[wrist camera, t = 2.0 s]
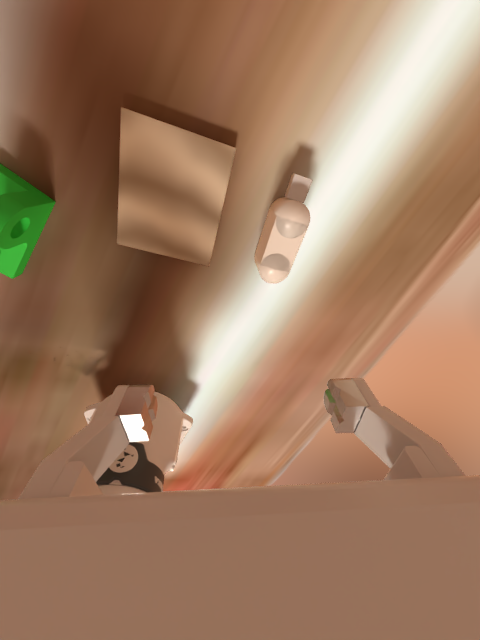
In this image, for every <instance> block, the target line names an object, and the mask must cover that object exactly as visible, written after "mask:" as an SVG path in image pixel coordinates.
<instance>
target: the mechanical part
mask: <svg viewBox="0 0 480 640" xmlns="http://www.w3.org/2000/svg"><path fill="white" fill-rule="evenodd" d="M54 204H55V201H54V200H52V199H51V198H50V197H48V196H47V195H45V194H44V193H42V192H41V191H39V190H38V189H37V188H35V187H34V186H32V185H31V184H29V183H28V182H26V181H25V180H23V179H22V178H21V177H19V176H18V175H16V174H15V173H13V172H12V171H10V170H9V169H8V168H6V167H5V166H3V165H2V164H0V272H1V273H2V274H4V275H6V276H8V277H10V278H12V279H13V278H15V277H17V276H19V275H21V274H22V273H23V271H24V268H25V266H26V264H27V262H28V260H29V258H30V256H31V253H32V251H33V249H34V247H35V245H36V243H37V241H38V239H39V236H40V234H41V232H42V230H43V228H44V226H45V224H46V221H47V219H48V217H49V215H50V213H51V211H52V209H53V206H54Z"/></svg>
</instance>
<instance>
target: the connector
mask: <svg viewBox="0 0 480 640" xmlns="http://www.w3.org/2000/svg"><path fill="white" fill-rule="evenodd" d="M311 183H312V180H311V179H309V178H306V177H303V176H300V175H297V174H293V173H292V176H291V179H290V181H289V184H288V187H287V190H286V193H285V196H284V197H281V198H278V199H277V200H275V201H274V202H273V203H272V205H271V206H270V208H269V211H268V214H267V218H266V221H265V224H264V227H263V230H262V233H261V236H260V240H259V243H258V246H257V249H256V252H255V256H254V259H255V263H256V265H257V268H258V271H259V273H260V275H261V277H262V279H263V280H264V281H266V282H268V283H273V284H274V283H279V282H281V281H283V280H284V279H285V278H286V277H287V276H288V274H289V272H290V270H291V267H292V265H293V262H294V260H295V257H296V255H297V253H298V250H299V248H300V245H301V243H302V240H303V238H304V235H305V233H306V231H307V228H308V226H309V222H310V213H309V210H308V208H307V207H306V206H305V205H304V204H302V203H304V201H305V198H306V196H307V193H308V191H309V188H310V185H311ZM295 200H296V201H295ZM298 201H299V202H298ZM300 202H302V203H300Z"/></svg>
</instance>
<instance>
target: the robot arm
mask: <svg viewBox="0 0 480 640" xmlns="http://www.w3.org/2000/svg"><path fill="white" fill-rule="evenodd" d="M327 386H328V388H329V389H327V390H326V391H325V394H324V404H325V408H326V410H327V412H328V413H330V414H331V415H332V417H331V422H332V425H333V427H334V429H335V432H336V433H354V434H355V435H356V436H357V437H358V438H359V439H360V440H361V441H362V442H363V443H364V444H365V445H366V446H368V447H369V448H370V449H371V450H372V451H373V452H374V453H375V454H376V455H377V456H378V457H379V458H380V459H381V460H382V461H383V462H384V463H385V464H386V465H387V466H388V467H389V468H390V470H389V472H388V473H387V475H386V476H385V478H384V480H376V481H359V482H358V481H357V482H340V483H339V482H338V483H319V484H301V485H300V484H299V485H280V486H261V487H242V488H223V489H204V490H185V491H166V492H163V483H164V475H165V474H166V473H167V472H168V471H171V472H172V471H173V470H174V467H175V465H176V463H177V455H178V450H179V445H180V443H181V442H182V440H183V439H184V437H185V436H186V434H187V432H188V431H189V429H190V428H191V426H192V423H193V419H192V418H191V417H190V416H188V415H187V414H185V413H183V412H182V411H181V410H180V408H179V407H178V406H177V404H176V403H175V402H174V401H172V400H171V399H170V398H168V397H166V396H165V395H163V394H160V393H157V392H154V391H155V389H154V386H153V385H118V386H117V387H116V388H115V390H114V392H113V394H111V395H110V396H108V397H107V398H105V399H104V400H103V401H102V402H100V403H96V404H93V405H90V406H88V407H87V408H86V410H85V412H84V415H85V418H86V420H87V423H88V425H87V426H85V427H84V428H83V429H82V430H80V431H79V432H78V433H77V434H75V435H74V436H73V437H72V438H70V439H69V440H68V441H67V442H65V443H64V444H63V445H61V446H60V447H59V448H58V449H56V450H55V451H54V452H53V453H51V454H50V455H49V456H48V457H46V458H45V459H44V460H43V461H41V463H40V464H39V466H38V468H37V469H36V471H35V472H34V474H33V476H32V477H31V479H30V480H29V482H28V484H27V485H26V487H25V489H24V490H23V492H22V493H21V495H20V497H19V498H18V499H14V500H0V640H480V475H470V476H466V475H465V474H464V473H463V472H462V470H461V469H460V468H459V466H458V465H457V464H456V463H455V461H454V460H453V459H452V457H451V456H450V455H449V453H448V452H447V451H446V450H445V448H444V447H443V446H442V444H441V443H439V442H438V441H436V440H435V439H433V438H432V437H430V436H429V435H427V434H425V433H424V432H423V431H421V430H419V429H418V428H417V427H415V426H413V425H412V424H411V423H409V422H407V421H406V420H405V419H403V418H401V417H400V416H398V415H397V414H395V413H394V412H393V411H391V410H390V409H388V408H387V407H385V406H381V405H380V403H379V402H378V400H377V399H376V397H375V396H374V394H373V393H372V391H371V390H370V388H369V387H368V385H367V383H366V382H365V380H364V379H362V378H351V379H350V378H344V379H330V380H329V381H328V383H327Z"/></svg>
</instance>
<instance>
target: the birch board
mask: <svg viewBox="0 0 480 640" xmlns="http://www.w3.org/2000/svg"><path fill="white" fill-rule="evenodd" d="M235 151H236V148H234V147H231V146H229V145H226V144H223V143H220V142H217V141H215V140H212V139H209V138H206V137H204V136H201V135H198V134H195V133H192V132H190V131H187V130H184V129H181V128H178V127H176V126H173V125H170V124H167V123H164V122H162V121H159V120H156V119H153V118H150V117H148V116H145V115H142V114H139V113H137V112H134V111H131V110H128V109H125V108H123V107H121V125H120V159H119V194H118V229H117V244H120V245H124V246H128V247H132V248H136V249H140V250H144V251H148V252H152V253H156V254H160V255H164V256H169V257H173V258H177V259H181V260H185V261H189V262H193V263H197V264H201V265H205V266H209V264H210V260H211V256H212V251H213V247H214V243H215V238H216V234H217V229H218V225H219V221H220V216H221V212H222V208H223V203H224V199H225V195H226V190H227V186H228V181H229V177H230V173H231V168H232V164H233V160H234V155H235Z"/></svg>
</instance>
